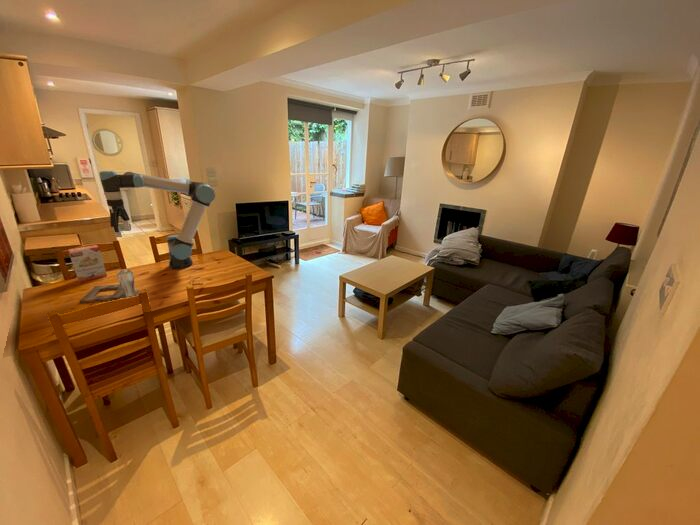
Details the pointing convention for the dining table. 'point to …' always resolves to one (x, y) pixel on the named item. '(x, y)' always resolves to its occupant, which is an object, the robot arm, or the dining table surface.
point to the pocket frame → (92, 295)
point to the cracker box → (87, 263)
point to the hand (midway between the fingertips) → (123, 233)
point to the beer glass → (127, 282)
